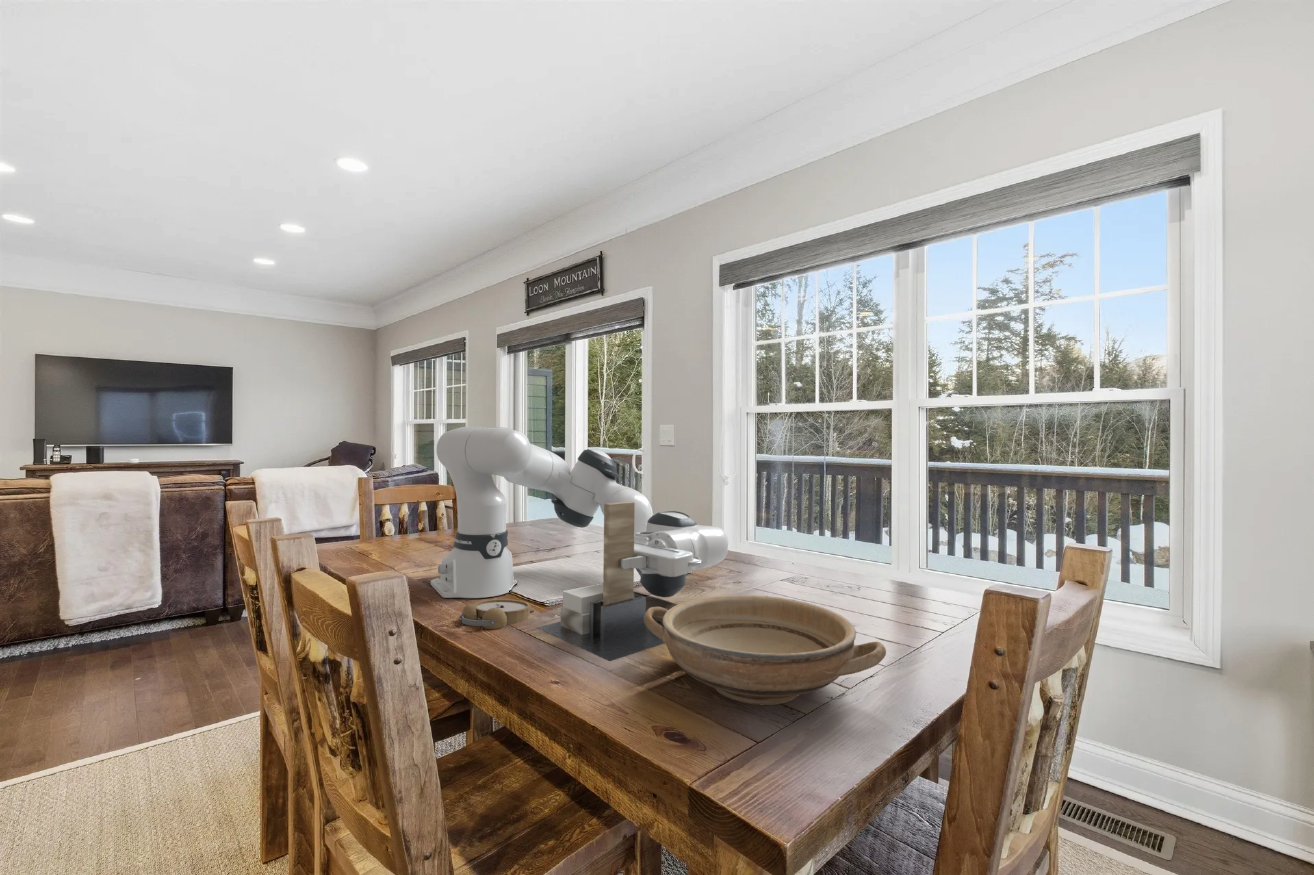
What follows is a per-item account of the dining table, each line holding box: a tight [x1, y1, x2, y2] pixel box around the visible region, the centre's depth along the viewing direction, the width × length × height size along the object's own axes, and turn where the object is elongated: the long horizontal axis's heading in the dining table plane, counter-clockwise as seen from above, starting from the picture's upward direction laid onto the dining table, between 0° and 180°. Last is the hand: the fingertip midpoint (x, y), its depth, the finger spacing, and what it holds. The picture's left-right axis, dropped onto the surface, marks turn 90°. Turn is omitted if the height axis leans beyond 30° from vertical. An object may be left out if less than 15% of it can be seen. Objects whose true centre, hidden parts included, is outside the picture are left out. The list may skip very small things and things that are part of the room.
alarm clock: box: [458, 598, 535, 630], centre depth 117 cm, size 11×5×15 cm
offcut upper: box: [562, 582, 603, 614], centre depth 115 cm, size 6×10×3 cm, turn 133°
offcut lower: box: [560, 606, 590, 635], centre depth 115 cm, size 7×12×4 cm, turn 133°
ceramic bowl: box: [644, 594, 887, 706], centre depth 89 cm, size 37×29×10 cm
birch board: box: [602, 502, 635, 605], centre depth 110 cm, size 2×6×24 cm, turn 133°
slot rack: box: [536, 593, 666, 662], centre depth 111 cm, size 22×20×7 cm
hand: (615, 562), depth 109 cm, fingers closed on birch board, 2 cm apart
